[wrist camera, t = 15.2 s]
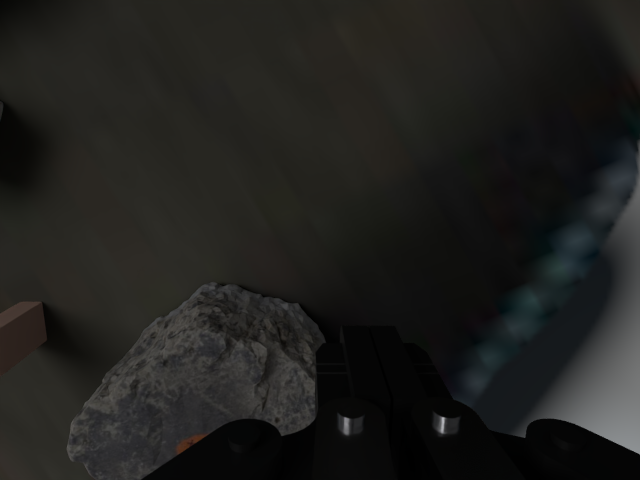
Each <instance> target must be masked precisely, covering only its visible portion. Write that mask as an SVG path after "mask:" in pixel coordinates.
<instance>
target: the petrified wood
mask: <svg viewBox="0 0 640 480" xmlns="http://www.w3.org/2000/svg"><path fill="white" fill-rule="evenodd" d="M322 343H326V341H325V338H324V335H323V334H322V333H321V331H320V330H319V327H318V325H317V324H316V323H315V322H314V321H313V320H312V319H311V318H310V317H308V316H307V315H306V313H305V312H304V311H303V310H302V309H301V307H300V305H299V304H298V303H294V304H291V303H287V302H285V301H283V300H281V299H279V298H272V297H264V298H263V296H262V295H261V294H255V293H253V292H250V291H247V290H245V289H243V288H241V287H239V286H238V285H236V284H229V285H226V286H221V285H219V284H217V283H215V282H212V283H208V284H205V285H203V286H201V287H200V288H199V289H198V290H197V291H196V292H195V293H194V294H193V295H192V296H191V297H190V299H189V300H187V301H185V302H183V303H182V305H181V306H179V308H177V309H175V310H173V311H171V312H170V314H169V315H167V316H161V317H159V318H157V319H156V320H155V321H154V322H153V323H152V324H151V325H150V326H149V327H147V328H146V329H144V330H143V332H142V334H141V337H140V338H139V339H138V341H137V342H136V343H135V345H134V346H133V347H132V348H131V349H130V350H129V351H128V352H127V353H126V355H125V356H124V357H123V358H122V359H121V361H119V362H118V363H117V364H116V365H115V366H113V368H112V369H111V370H110V371H109V372H107V373H106V375H105V377H104V378H103V382H102V384H101V385H100V386H99V387H98V389H97V390H96V391H95V393H94V394H93V395H92V396H91V398H90V399H89V400H88V401H87V402H85V404H84V406H83V408H82V410H81V411H80V412H79V413H78V415H77V416H76V417H75V418H74V420H73V421H72V423H71V429H70V436H69V441H68V446H67V452H68V455H69V457H70V459H71V461H73V462H81V463H83V464H84V465H85V467H86V469H87V471H88V472H89V474H90V475H91V476H92V477H93V478H95V479H96V480H141V479H142V478H144V477H145V476H147V475H148V474H150V473H151V472H153V471H154V470H156V469H157V468H159V467H160V466H162V465H163V464H165V463H166V462H168V461H169V460H171V459H172V458H174V457H175V456H177V455H178V454H180V453H181V452H183V451H184V450H186V449H187V448H189V447H190V446H192V445H193V444H195V443H196V442H198V441H199V440H201V439H202V438H204V437H205V436H207V435H208V434H210V433H211V432H213V431H214V430H216V429H217V428H219V427H221V426H222V425H224V424H226V423H229V422H231V421H235V420H239V419H259V420H263V421H266V422H269V423H271V424H272V425H274V426H275V427H276V428H277V429H278V430H279V432H280V434H281V436H283V435H288V434H291V433H295V432H298V431H300V430H302V429H304V428H306V427H307V426H308V425H310V424H311V423H312V422H313V421H314V420H315V362H316V351H317V350H318V349H319V347H320V346H321V345H322Z"/></svg>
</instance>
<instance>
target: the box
mask: <svg viewBox="0 0 640 480" xmlns="http://www.w3.org/2000/svg"><path fill="white" fill-rule="evenodd" d="M3 107H4V106H3V102H2V101H0V121H1V117H2V112H3Z"/></svg>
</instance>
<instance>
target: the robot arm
mask: <svg viewBox="0 0 640 480" xmlns="http://www.w3.org/2000/svg"><path fill="white" fill-rule="evenodd" d="M141 480H640V455H639V454H638V453H636V452H634V451H631V450H629V449H627V448H625V447H623V446H621V445H618V444H616V443H614V442H612V441H610V440H608V439H606V438H604V437H602V436H599V435H597V434H595V433H593V432H591V431H589V430H587V429H585V428H582V427H580V426H578V425H575V424H573V423H569V422H566V421H562V420H557V419H539V420H536V421H533V422H531V423H530V424H529V425H528V427H527V431H526V437H525V438H522V437H518V436H513V435H508V434H503V433H499V432H494V431H491V430H489V429H488V428H487V426H486V425H485V424H484V422H483V421H482V419H481V418H480V417H479V415H478V414H477V413H476V412H475V411H474V410H473V409H471V408H470V407H468V406H467V405H465V404H463V403H461V402H458V401H456V400H453V398H452V396H451V395H450V393H449V391H448V389H447V388H446V386H445V384H444V382H443V380H442V379H441V377H440V375H439V374H438V371H437V370H436V368H435V366H434V365H433V363H432V361H431V359H430V357H429V355H428V354H427V352H426V351H424V350H423V349H421V348H420V347H419V346H417V345H416V344H415V343H403V342H402V340H401V338H400V336H399V334H398V332H397V329H396V327H395V326H368V327H367V326H341V329H340V343H322V345H321V346H320V347H319V349H318V350H317V351H316V362H315V420H314V421H313V422H312V423H311V424H310V425H308V426H307V427H306V428H304V429H302V430H300V431H298V432H295V433H291V434H288V435H283V436H281V434H280V432H279V430H278V429H277V428H276V427H275V426H274V425H272V424H271V423H269V422H266V421H263V420H259V419H239V420H235V421H231V422H229V423H226V424H224V425H222V426H221V427H219V428H217V429H216V430H214V431H213V432H211V433H210V434H208V435H207V436H205V437H204V438H202V439H201V440H199V441H198V442H196V443H195V444H193V445H192V446H190V447H189V448H187V449H186V450H184V451H183V452H181V453H180V454H178V455H177V456H175V457H174V458H172V459H171V460H169V461H168V462H166V463H165V464H163V465H162V466H160V467H159V468H157V469H156V470H154V471H153V472H151V473H150V474H148V475H147V476H145V477H144V478H142V479H141Z"/></svg>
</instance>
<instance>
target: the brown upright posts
mask: <svg viewBox="0 0 640 480" xmlns="http://www.w3.org/2000/svg"><path fill="white" fill-rule="evenodd" d="M45 341H47V334H46V327H45V320H44V313H43V305H42V302H20V303H18V304H16V305H14V306H13V307H11V308H9V309H7V310H6V311H4V312H2V313H0V377H1V376H2V375H3V374H4V373H6V372H7V371H8V370H10V369H11V368H12V367H13V366H15V365H16V364H17V363H18V362H20V361H21V360H22V359H24V358H25V357H26V356H27V355H29V354H30V353H31V352H33V351H34V350H35V349H36V348H38V347H39V346H40V345H41V344H43V343H44V342H45Z"/></svg>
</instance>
